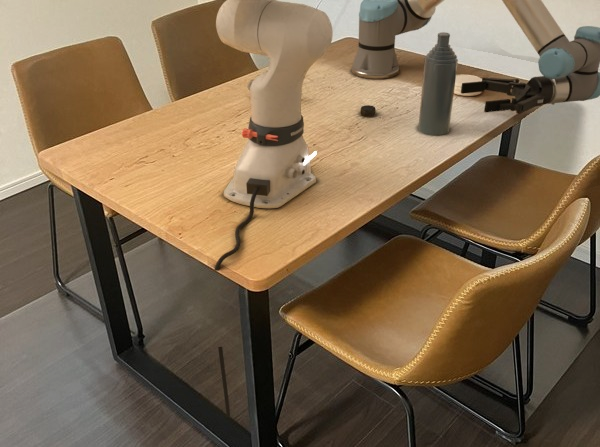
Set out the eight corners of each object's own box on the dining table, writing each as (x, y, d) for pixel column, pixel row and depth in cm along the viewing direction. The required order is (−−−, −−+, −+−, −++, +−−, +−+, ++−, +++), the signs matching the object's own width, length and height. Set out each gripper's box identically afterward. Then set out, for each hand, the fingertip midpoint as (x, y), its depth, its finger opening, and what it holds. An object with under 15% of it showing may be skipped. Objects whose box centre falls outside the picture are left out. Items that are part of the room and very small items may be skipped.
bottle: (416, 123, 168) (424, 29, 155) (446, 122, 168) (457, 29, 155) (420, 135, 161) (430, 38, 148) (451, 135, 161) (464, 38, 148)
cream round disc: (444, 85, 192) (445, 74, 190) (475, 84, 193) (477, 73, 191) (454, 97, 183) (456, 86, 181) (487, 95, 184) (489, 84, 182)
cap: (359, 116, 173) (359, 110, 172) (361, 111, 176) (361, 104, 175) (374, 117, 172) (374, 111, 171) (376, 112, 175) (376, 105, 174)
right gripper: (570, 121, 158) (494, 129, 154) (519, 87, 178) (451, 94, 175) (577, 93, 154) (498, 100, 150) (524, 61, 174) (454, 68, 171)
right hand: (473, 97), depth 162 cm, fingers open, 13 cm apart
